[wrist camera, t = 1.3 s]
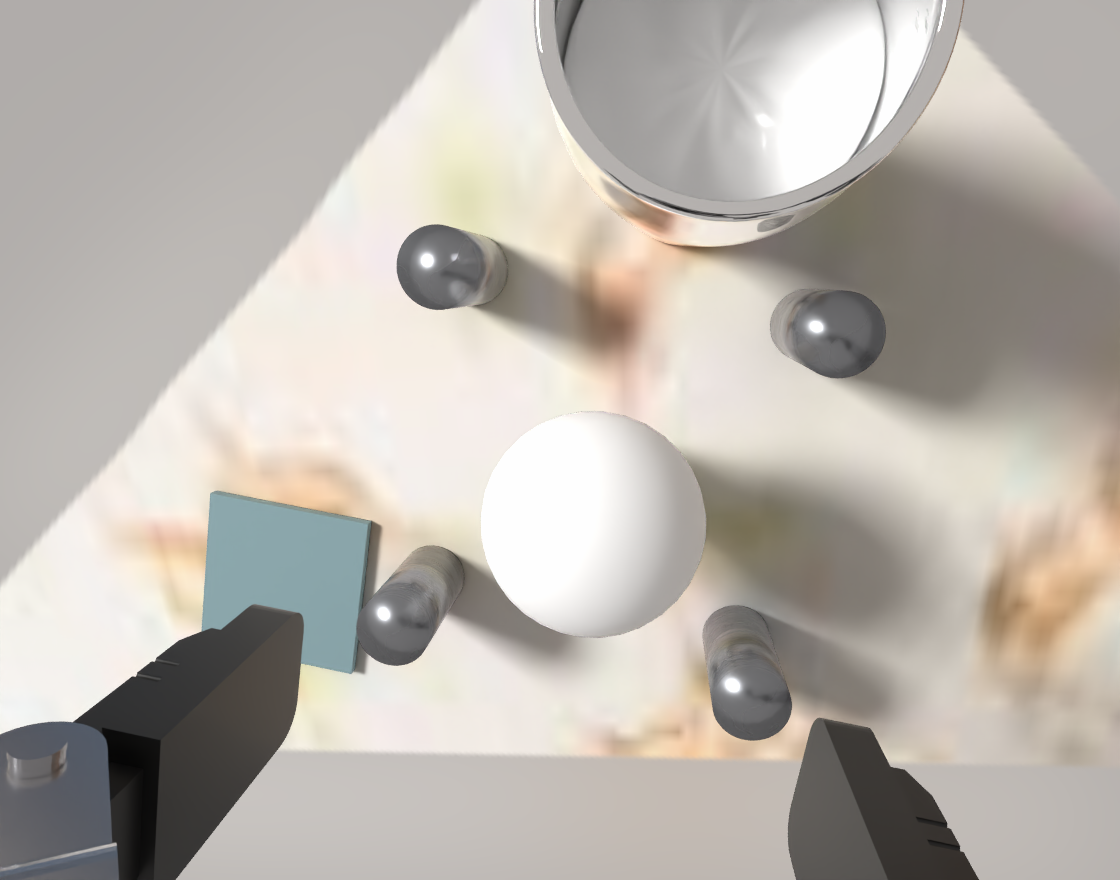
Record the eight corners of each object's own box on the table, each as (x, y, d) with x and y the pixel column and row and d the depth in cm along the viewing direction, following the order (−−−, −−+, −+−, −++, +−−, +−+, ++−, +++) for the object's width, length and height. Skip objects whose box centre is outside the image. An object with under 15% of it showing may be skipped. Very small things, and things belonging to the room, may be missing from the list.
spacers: (851, 295, 27) (895, 298, 22) (761, 671, 30) (782, 747, 25) (445, 229, 28) (401, 218, 23) (399, 598, 31) (352, 657, 26)
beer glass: (557, 108, 27) (444, -101, 12) (747, 4, 25) (878, -370, 11) (642, 293, 28) (631, 307, 13) (829, 203, 26) (1051, 106, 12)
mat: (371, 521, 31) (368, 524, 30) (354, 669, 32) (351, 673, 32) (215, 490, 31) (210, 493, 31) (206, 637, 32) (200, 642, 32)
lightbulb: (501, 489, 30) (416, 606, 19) (573, 347, 28) (525, 388, 18) (642, 563, 30) (636, 723, 19) (721, 425, 28) (764, 513, 18)
